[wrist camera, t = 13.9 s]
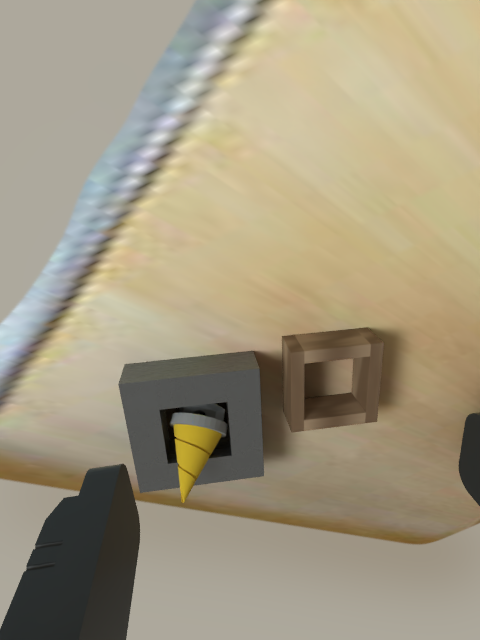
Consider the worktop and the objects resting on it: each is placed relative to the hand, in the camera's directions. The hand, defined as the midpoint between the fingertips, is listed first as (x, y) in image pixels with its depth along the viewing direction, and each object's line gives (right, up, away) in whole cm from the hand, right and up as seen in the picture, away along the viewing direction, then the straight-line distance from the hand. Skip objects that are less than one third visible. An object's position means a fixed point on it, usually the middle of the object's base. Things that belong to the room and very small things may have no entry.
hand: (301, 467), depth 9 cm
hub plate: (-6, -6, +30) cm, 31 cm away
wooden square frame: (+7, -2, +30) cm, 31 cm away
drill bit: (-5, -7, +30) cm, 32 cm away
